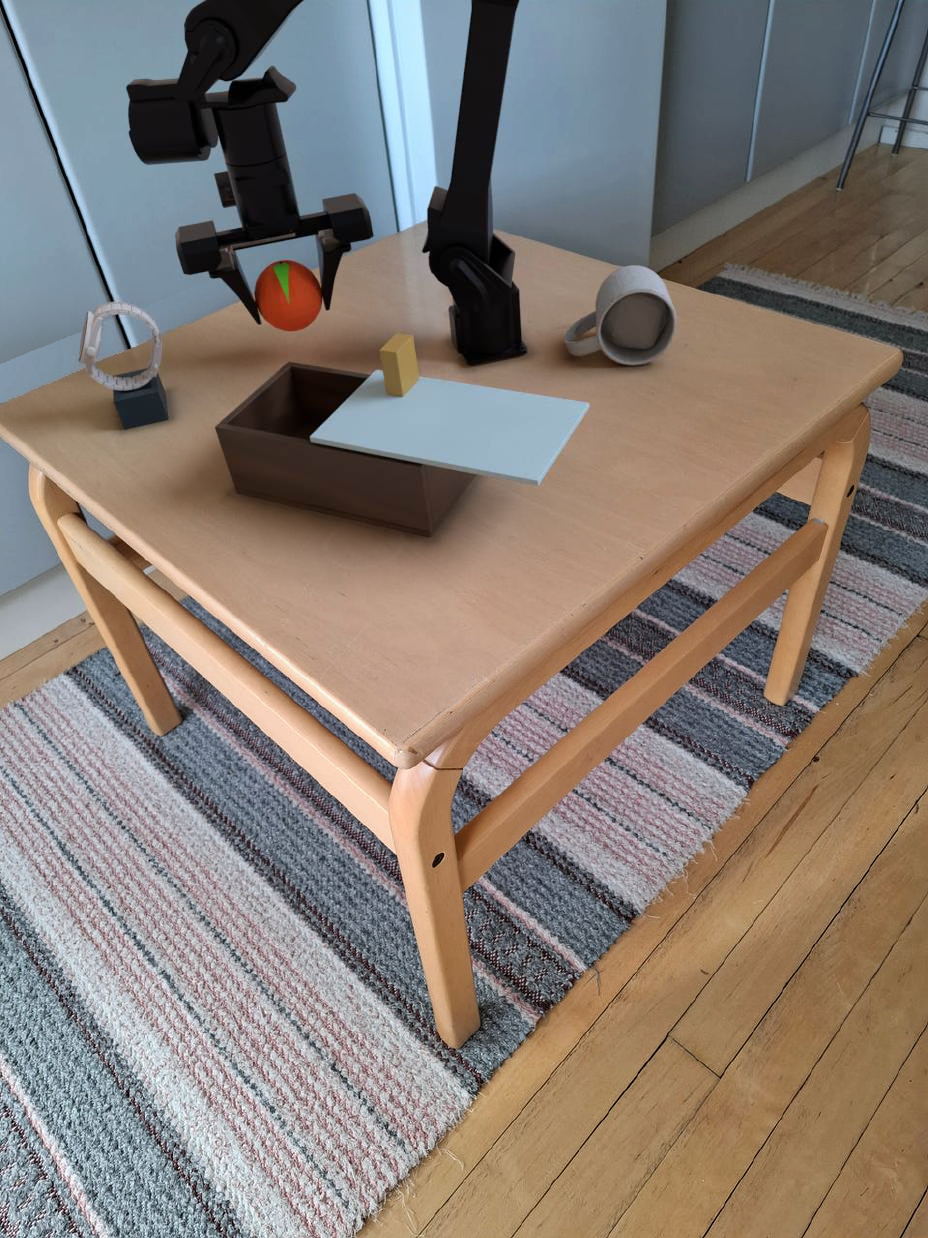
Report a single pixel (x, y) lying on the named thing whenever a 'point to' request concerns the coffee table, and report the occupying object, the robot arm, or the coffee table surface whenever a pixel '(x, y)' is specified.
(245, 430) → the case
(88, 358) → the watch
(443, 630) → the coffee table surface
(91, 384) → the coffee table surface
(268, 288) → the clementine
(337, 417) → the lid
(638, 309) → the ceramic mug
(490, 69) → the robot arm
